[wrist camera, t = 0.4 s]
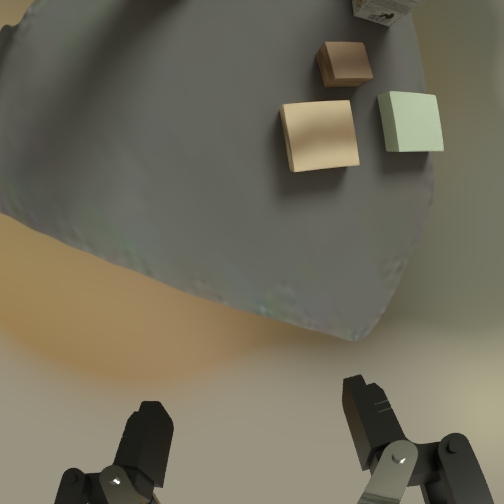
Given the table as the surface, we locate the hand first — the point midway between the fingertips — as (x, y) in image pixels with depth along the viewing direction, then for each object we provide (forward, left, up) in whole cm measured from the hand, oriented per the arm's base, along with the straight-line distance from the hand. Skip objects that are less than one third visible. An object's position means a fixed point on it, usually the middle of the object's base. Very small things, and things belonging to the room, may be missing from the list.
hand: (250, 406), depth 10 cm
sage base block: (-12, +25, -28) cm, 39 cm away
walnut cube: (-20, +16, -28) cm, 37 cm away
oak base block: (-11, +11, -28) cm, 32 cm away
